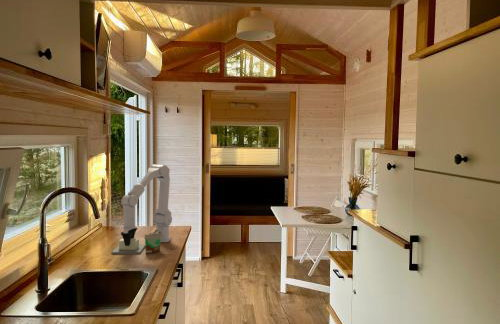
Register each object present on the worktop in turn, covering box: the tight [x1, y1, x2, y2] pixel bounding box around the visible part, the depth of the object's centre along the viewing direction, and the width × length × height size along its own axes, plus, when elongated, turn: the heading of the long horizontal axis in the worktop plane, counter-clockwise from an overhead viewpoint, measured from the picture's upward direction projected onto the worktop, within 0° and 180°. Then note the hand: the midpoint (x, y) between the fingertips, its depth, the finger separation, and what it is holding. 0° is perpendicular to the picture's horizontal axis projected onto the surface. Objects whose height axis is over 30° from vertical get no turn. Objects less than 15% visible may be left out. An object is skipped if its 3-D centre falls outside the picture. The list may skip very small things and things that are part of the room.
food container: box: [144, 229, 162, 255], centre depth 192 cm, size 12×6×10 cm, turn 168°
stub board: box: [111, 244, 146, 255], centre depth 193 cm, size 14×14×3 cm
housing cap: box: [118, 238, 140, 250], centre depth 193 cm, size 5×9×4 cm, turn 94°
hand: (129, 243), depth 193 cm, fingers open, 7 cm apart
